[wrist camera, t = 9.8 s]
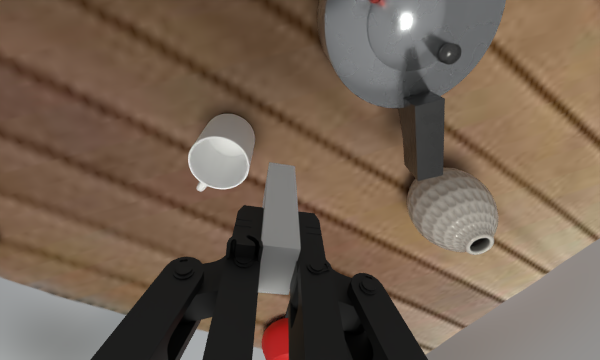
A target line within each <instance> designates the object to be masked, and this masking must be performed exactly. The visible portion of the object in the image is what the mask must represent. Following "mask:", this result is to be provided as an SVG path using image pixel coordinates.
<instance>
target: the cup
mask: <svg viewBox="0 0 600 360" xmlns="http://www.w3.org/2000/svg"><path fill="white" fill-rule="evenodd" d="M254 145H255V135H254V131H253V129H252V127H251V125H250V124H249V123H248V122H247V121H246V120H245V119H243V118H242V117H240V116H238V115H235V114H221V115H218V116H216V117H214V118H213V119H212V120H210V122H209V123H208V124H207V125H206V127H205V128H204V130H203V131H202V133H201V134H200V136H199V137H198V139H197V140H196V142H195V143H194V145H193V146H192V148H191V150H190V152H189V155H188V164H189V167H190V170H191V172H192V173H193V175H194V176H195V177H196V178H197V179H198V180H199V183H198V185H197V190H198V191H203V190H204V189H205V188H206V187H207V186H209V187H211V188H215V189H229V188H233V187H235V186H237V185H239V184H240V183H242V182H243V181H244V180H245V178H246V177H247V175H248V172H249V168H250V163H251V159H252V154H253V149H254Z"/></svg>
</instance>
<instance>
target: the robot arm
mask: <svg viewBox="0 0 600 360" xmlns="http://www.w3.org/2000/svg"><path fill="white" fill-rule="evenodd" d="M289 290H290V301H289V304H288V308H287V311H286V316H285V318H288V338H289V360H428V359H427V357H426V356H425V354H424V352H423V351H422V349H421V347H420V346H419V344H418V343H417V341H416V339H415V338H414V336H413V334H412V333H411V331H410V329H409V328H408V326H407V325H406V323H405V321H404V320H403V318H402V316H401V315H400V313H399V311H398V310H397V308H396V307H395V305H394V303H393V302H392V300H391V298H390V297H389V295H388V293H387V292H386V290H385V289H384V287H383V285H382V284H381V283H380V282H379V280H378V279H376V278H375V277H373V276H372V275H369V274H366V273H359V274H356V275H354V276H353V278H350V277H347V276H345V275H342V274H340V273H338V272H336V271H335V270H333V269H332V268H331V265H330V263H329V262H328V261H327V260H326V258H325V252H324V246H323V240H322V236H321V230H320V222H319V220H318V218H317V217H316V215H315V214H314V213H306V212H298V203H297V189H296V175H295V166H290V165H283V164H277V163H270V162H269V167H268V173H267V180H266V186H265V192H264V199H263V207H254V206H246V205H244V206H243V207H242V208H241V209H240V210H239V211H238V214H237V218H236V222H235V227H234V231H233V236H232V237H231V238H229V240H228V242H227V250H226V256H224V257H223V258H222V259H220V260H218V261H215V262H211V263H205V264H202V263H201V262H200V261H199V260H197V259H195V258H193V257H181V258H177V259H175V260H173V261H171V262H170V263H169V264H168V265H167V266H166V267H165V268H164V269H163V271H162V272H161V273H160V274H159V276H158V277H157V278H156V279H155V280H154V282H153V283H152V284H151V285H150V287H149V288H148V289H147V290H146V292H145V293H144V294H143V295H142V297H141V298H140V299H139V300H138V302H137V303H136V304H135V305H134V307H133V308H132V309H131V310H130V311H129V313H128V314H127V315H126V316H125V318H124V319H123V320H122V322H121V323H120V324H119V325H118V326H117V328H116V329H115V330H114V331H113V333H112V334H111V335H110V336H109V338H108V339H107V340H106V341H105V342H104V344H103V345H102V346H101V347H100V349H99V350H98V351H97V352H96V354H95V355H94V356H93V357H92V359H91V360H180V358H181V356H182V355H183V353H184V350H185V349H186V347H187V345H188V343H189V341H190V340H191V338H192V336H193V334H194V332H195V330H196V329H197V327H198V325H199V323H200V321H201V319H205V318H209V317H212V321H211V325H210V329H209V334H208V338H207V343H206V347H205V351H204V356H203V360H252V354H253V343H254V331H255V320H256V309H257V297H258V292H261V293H273V294H285V295H288V294H289Z"/></svg>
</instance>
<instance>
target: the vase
mask: <svg viewBox="0 0 600 360" xmlns="http://www.w3.org/2000/svg"><path fill="white" fill-rule="evenodd" d="M407 209H408V213H409V216H410V218H411V220H412V222H413V224H414V226H415V227H416V229H417V230H418V231H419V232H420V233H421V234H422V236H424V237H425V238H426V239H427V240H429V241H430V242H432V243H433V244H435V245H437V246H439V247H441V248H444V249H447V250H450V251H456V252H467V253H469V254H472V255H478V254H482V253H484V252H486V251H488V250H489V249H490V248H491V247H492V246H493V244H494V235H495V233H496V229H497V226H498V211H497V207H496V203H495V200H494V198H493V196H492V194H491V193H490V191H489V190H488V189H487V188H486V186H485V185H484V184H483V183H482V182H480V181H479V180H478V179H477V178H475V177H474V176H472V175H471V174H469V173H467V172H464V171H462V170H459V169H455V168H446V167H443V175H442V176H438V177H434V178H429V179H425V180H421V181H417V180H416V179H415V180H414V181H413V182H412V184H411V186H410V189H409V192H408V196H407Z"/></svg>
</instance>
